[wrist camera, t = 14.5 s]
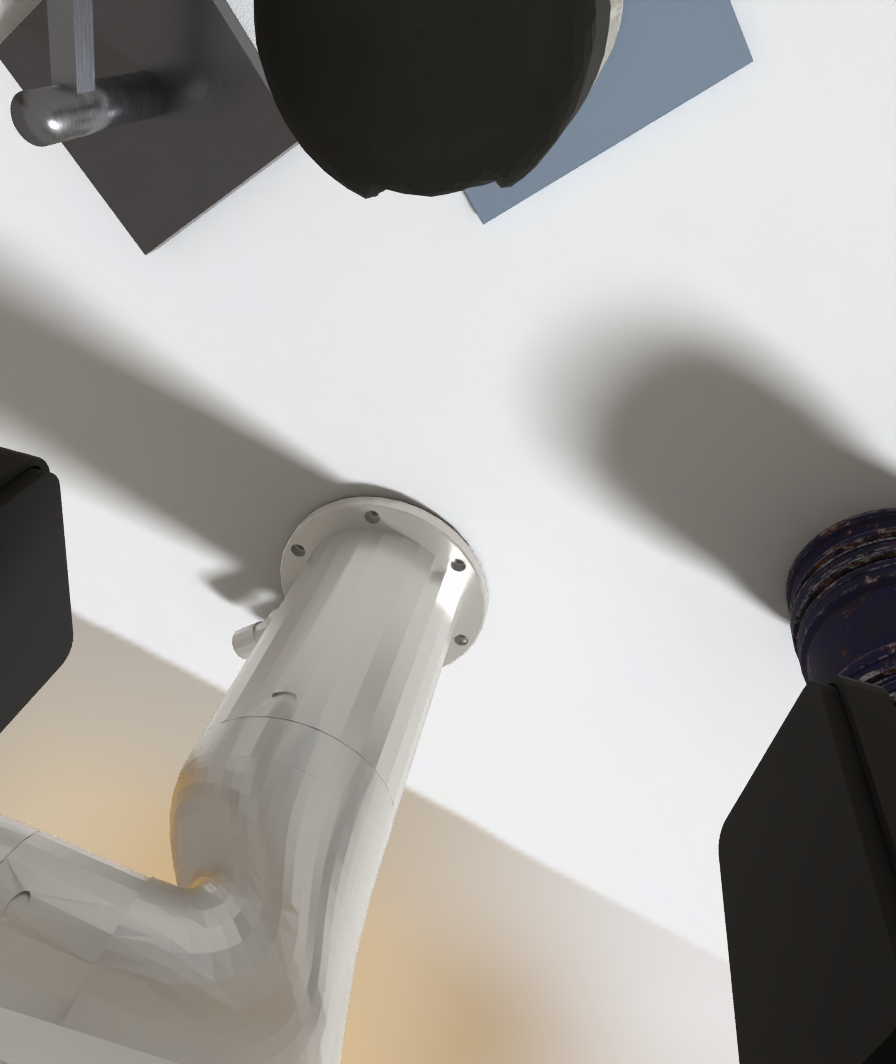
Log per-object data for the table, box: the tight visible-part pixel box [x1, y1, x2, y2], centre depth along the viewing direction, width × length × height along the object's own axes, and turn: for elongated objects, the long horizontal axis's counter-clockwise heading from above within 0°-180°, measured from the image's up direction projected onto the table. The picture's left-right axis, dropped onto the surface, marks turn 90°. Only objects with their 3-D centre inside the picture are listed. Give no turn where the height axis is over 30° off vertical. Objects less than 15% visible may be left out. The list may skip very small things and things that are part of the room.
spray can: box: [254, 0, 623, 199], centre depth 23 cm, size 7×7×20 cm
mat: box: [464, 0, 753, 224], centre depth 31 cm, size 12×12×1 cm
